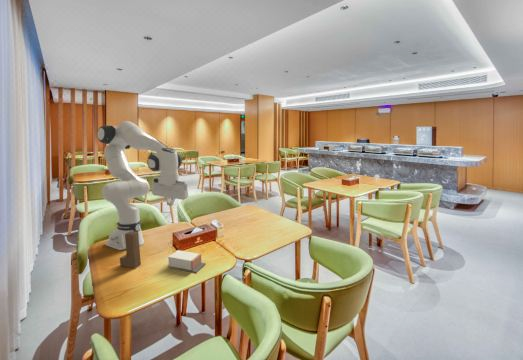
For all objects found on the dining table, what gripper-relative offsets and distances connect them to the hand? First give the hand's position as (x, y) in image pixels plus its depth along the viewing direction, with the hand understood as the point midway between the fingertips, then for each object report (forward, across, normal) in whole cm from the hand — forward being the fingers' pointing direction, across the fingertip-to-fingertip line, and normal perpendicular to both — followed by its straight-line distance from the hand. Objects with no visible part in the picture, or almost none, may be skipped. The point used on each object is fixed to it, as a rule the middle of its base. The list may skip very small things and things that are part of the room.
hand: (170, 205), depth 145 cm
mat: (+28, -15, +7) cm, 33 cm away
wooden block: (+30, +13, +16) cm, 36 cm away
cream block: (+26, -6, +7) cm, 27 cm away
